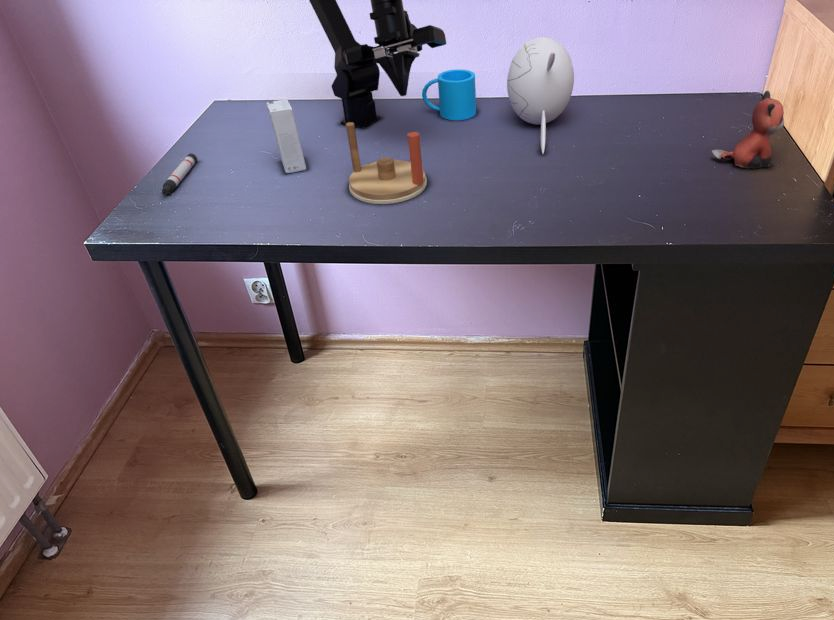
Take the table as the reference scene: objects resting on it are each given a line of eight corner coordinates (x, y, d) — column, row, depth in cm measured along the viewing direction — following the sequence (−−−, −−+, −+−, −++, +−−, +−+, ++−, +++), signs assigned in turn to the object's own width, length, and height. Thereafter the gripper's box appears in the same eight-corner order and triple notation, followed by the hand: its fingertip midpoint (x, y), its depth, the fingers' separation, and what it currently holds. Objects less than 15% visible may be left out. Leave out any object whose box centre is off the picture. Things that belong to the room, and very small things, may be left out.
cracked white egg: (509, 29, 140) (511, 48, 119) (574, 32, 140) (587, 52, 119) (503, 120, 150) (503, 153, 129) (563, 123, 150) (573, 157, 129)
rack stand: (333, 194, 121) (333, 191, 120) (378, 162, 130) (378, 159, 129) (399, 210, 115) (398, 207, 115) (441, 176, 124) (441, 173, 124)
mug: (478, 106, 150) (477, 69, 145) (473, 120, 144) (472, 82, 139) (426, 105, 152) (423, 69, 146) (420, 119, 146) (416, 82, 140)
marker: (189, 162, 133) (186, 153, 132) (198, 162, 133) (195, 153, 132) (159, 199, 122) (155, 189, 121) (169, 199, 122) (166, 189, 121)
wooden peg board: (343, 172, 125) (334, 121, 119) (413, 159, 129) (408, 108, 122) (358, 205, 115) (350, 151, 109) (435, 190, 118) (430, 136, 112)
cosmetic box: (307, 170, 129) (294, 108, 121) (284, 174, 128) (269, 112, 120) (302, 157, 133) (289, 97, 125) (280, 161, 132) (265, 101, 124)
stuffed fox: (706, 153, 127) (719, 90, 119) (765, 152, 127) (782, 88, 119) (716, 171, 121) (730, 106, 114) (778, 169, 121) (797, 104, 113)
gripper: (451, 0, 124) (464, 87, 128) (367, 25, 131) (382, 107, 135) (424, -11, 114) (440, 84, 118) (335, 17, 122) (353, 105, 126)
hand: (403, 95), depth 124 cm, fingers closed
